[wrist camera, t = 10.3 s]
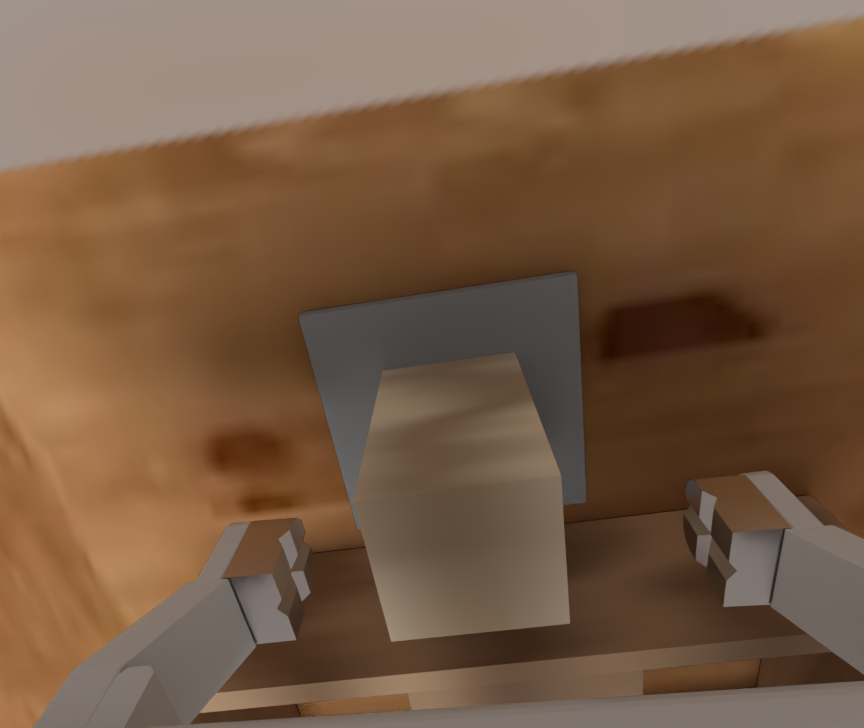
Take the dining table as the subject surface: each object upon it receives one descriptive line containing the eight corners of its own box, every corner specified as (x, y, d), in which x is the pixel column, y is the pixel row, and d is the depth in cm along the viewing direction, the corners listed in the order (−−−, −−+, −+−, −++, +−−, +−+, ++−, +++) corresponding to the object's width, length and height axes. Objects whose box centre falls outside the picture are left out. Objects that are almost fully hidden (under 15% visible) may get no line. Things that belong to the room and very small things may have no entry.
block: (514, 352, 15) (561, 475, 9) (525, 463, 17) (569, 623, 11) (382, 370, 15) (352, 500, 10) (405, 478, 17) (391, 642, 11)
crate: (810, 494, 17) (944, 620, 13) (772, 705, 22) (860, 852, 18) (215, 565, 19) (146, 699, 14) (296, 748, 24) (263, 893, 19)
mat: (573, 271, 14) (577, 274, 14) (583, 494, 18) (586, 502, 17) (301, 312, 15) (297, 316, 15) (359, 522, 18) (357, 529, 18)
